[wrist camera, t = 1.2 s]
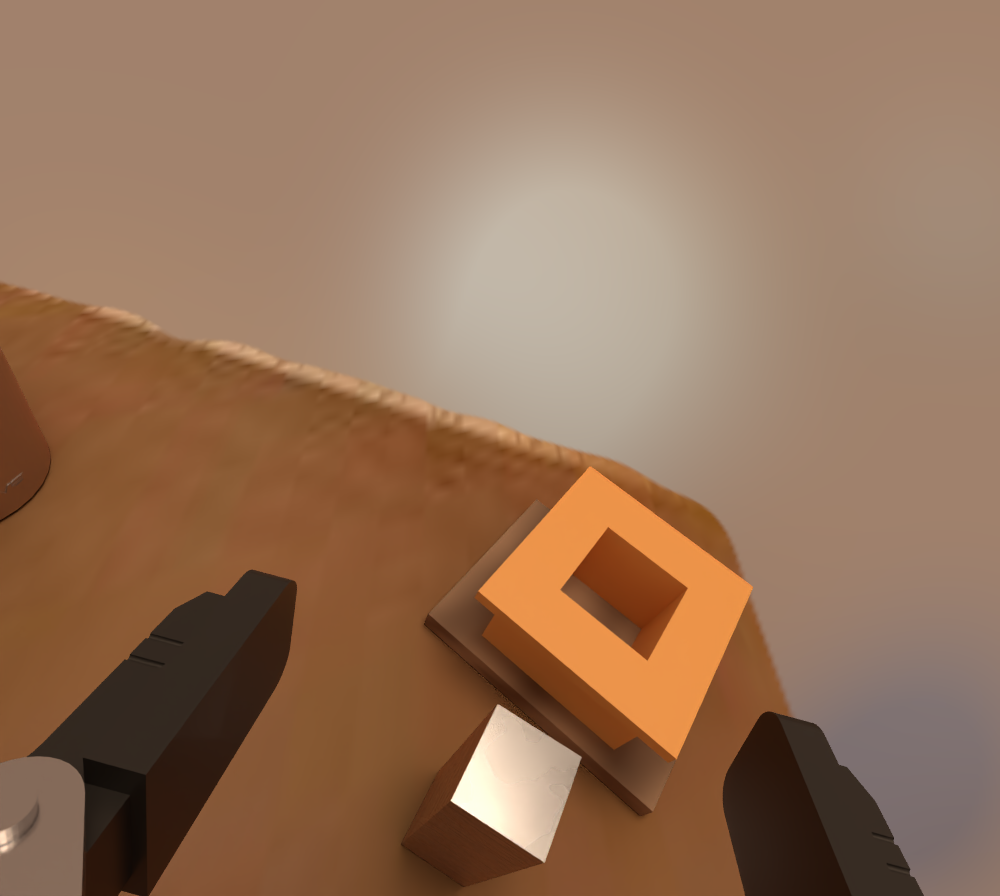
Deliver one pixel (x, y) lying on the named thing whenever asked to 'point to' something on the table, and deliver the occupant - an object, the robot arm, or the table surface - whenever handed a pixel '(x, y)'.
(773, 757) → the robot arm
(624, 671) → the orange square collar
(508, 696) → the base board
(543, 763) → the dark grey rectangular block
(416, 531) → the table surface
